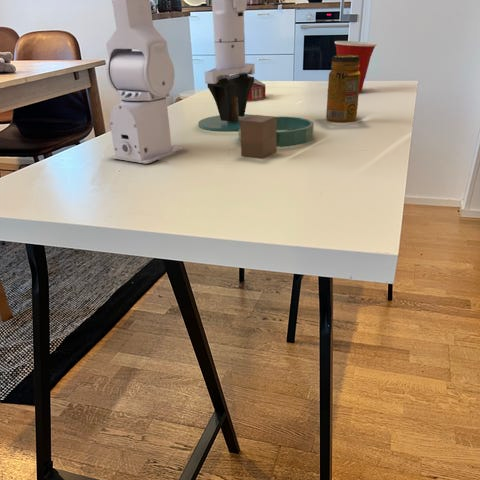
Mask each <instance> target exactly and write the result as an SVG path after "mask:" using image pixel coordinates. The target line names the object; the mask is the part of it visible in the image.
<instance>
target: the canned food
mask: <svg viewBox="0 0 480 480" xmlns="http://www.w3.org/2000/svg"><path fill="white" fill-rule="evenodd" d="M248 77H252V75H250V74H249V75H248ZM266 95H267V94H266V84H265V83H263V82H262V81H259V80H258V79H256V78H254V83H253V85H252V87H251V90H250V92H249V96H248V99H247V102H256V101H261V100H264V99H266V97H267V96H266Z"/></svg>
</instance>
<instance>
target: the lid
mask: <svg viewBox="0 0 480 480" xmlns="http://www.w3.org/2000/svg"><path fill="white" fill-rule="evenodd" d="M253 115H254V114H251V113H250V114H249V113H248V114H246V113H245V114H244V116H243V117H241V116H239V113H238V96H233V102H232V119H231V121H221V118H220V115H213V116H208V117H205V118H202V119H200V120H199V121H198V123H197V125H198V127H199V128H201V129H202V130H206V131H212V132H213V131H214V132H239V125H240V120H242V119H245V118H248V117H251V116H253Z"/></svg>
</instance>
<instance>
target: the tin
mask: <svg viewBox="0 0 480 480" xmlns="http://www.w3.org/2000/svg"><path fill="white" fill-rule="evenodd" d="M276 117H277V135H276V148H282V147H293V146H298V145H302V144H303V145H304V144H306V143H308V142H310V141H313V139H314V127H315V125H314V124H315V122H314V121H312V120H310V119H308V118H303V117H297V116H276ZM238 140H239V141H240V142H241V129H240V125H239V131H238Z"/></svg>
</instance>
